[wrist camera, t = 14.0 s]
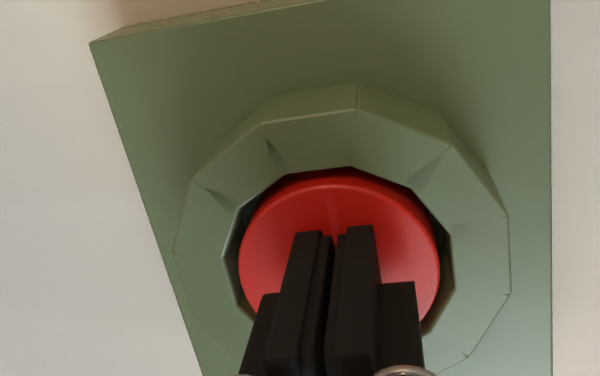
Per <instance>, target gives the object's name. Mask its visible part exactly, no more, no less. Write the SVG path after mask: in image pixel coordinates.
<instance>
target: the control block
mask: <svg viewBox="0 0 600 376" xmlns="http://www.w3.org/2000/svg"><path fill="white" fill-rule="evenodd" d="M89 47H90V50H91V53H92V55H93V58H94V61H95V64H96V67H97V70H98V73H99V76H100V79H101V82H102V84H103V87H104V90H105V93H106V96H107V99H108V102H109V105H110V108H111V111H112V113H113V116H114V119H115V122H116V125H117V128H118V131H119V134H120V137H121V140H122V142H123V145H124V148H125V151H126V154H127V157H128V160H129V163H130V166H131V169H132V171H133V174H134V177H135V180H136V183H137V186H138V189H139V192H140V195H141V198H142V200H143V203H144V206H145V209H146V212H147V215H148V218H149V221H150V224H151V227H152V230H153V232H154V235H155V238H156V241H157V244H158V247H159V250H160V253H161V256H162V259H163V261H164V264H165V267H166V270H167V273H168V276H169V279H170V282H171V285H172V288H173V290H174V293H175V296H176V299H177V302H178V305H179V308H180V311H181V314H182V317H183V319H184V322H185V325H186V328H187V331H188V334H189V337H190V340H191V343H192V346H193V348H194V351H195V354H196V357H197V360H198V363H199V366H200V369H201V372H202V375H203V376H231V375H238V373H239V370H240V366H241V363H242V360H243V357H244V353H245V350H246V347H247V344H248V340H249V337H250V334H251V331H252V327H253V324H254V321H255V317H256V314H257V313H256V312H255V311H254V309H253V308H252V306H251V305H250V303H249V301H248V299H247V298H246V296H245V293H244V290H243V288H242V285H241V281H240V276H239V268H238V258H239V250H240V246H241V242H242V239H243V237H244V234H245V232H246V229H247V227H248V224H249V222H250V220H251V217H252V215H253V212H254V210H255V207H256V205H257V203H258V200H259V198H260V196H261V195H262V193H263V192H264V191H265V190H266V189H267V188H269V187H270V186H271V185H273V184H274V183H275V182H277V181H278V180H279V179H281V178H282V177H283V176H285V175H286V174H292V173H300V172H308V171H316V170H323V169H331V168H339V167H346V166H351V167H354V168H357V169H359V170H362V171H365V172H368V173H370V174H373V175H376V176H378V177H381V178H384V179H387V180H389V181H392V182H395V183H398V184H400V185H403V186H406V187H408V188H411V190H412V191H413V192H414V193H415V194H416V195H417V197H418V198H419V199H420V200H421V201H422V203H423V204H424V205H425V206H426V207H427V209H428V210H429V213H430V216H431V220H432V226H433V231H434V236H435V241H436V246H437V252H438V257H439V262H440V281H439V287H438V291H437V294H436V297H435V299H434V302H433V304H432V306H431V308H430V309H429V311H428V312H427V314H426V315H425V317H424V318H423V319H422V320H421V321H420V327H421V336H422V344H423V353H424V362H425V369H426V370H429V371H431V372H433V373H434V374H435V375H436V376H553V352H552V187H551V22H550V0H264V1H258V2H253V3H248V4H243V5H238V6H232V7H227V8H222V9H217V10H211V11H206V12H201V13H196V14H191V15H185V16H180V17H175V18H170V19H164V20H159V21H154V22H149V23H144V24H138V25H133V26H128V27H123V28H121V29H119V30H116V31H114V32H112V33H109V34H107V35H105V36H103V37H100V38H98V39H96V40H93V41H91V42H90V43H89Z"/></svg>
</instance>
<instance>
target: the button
mask: <svg viewBox="0 0 600 376" xmlns="http://www.w3.org/2000/svg"><path fill="white" fill-rule="evenodd" d="M369 224H372V225H373V229H374V234H375V241H376V247H377V254H378V260H379V266H380V273H381V279H382V284H383V283H394V282H406V281H415V288H416V295H417V303H418V311H419V319H420V321H421V320H422V319H423V318H424V317H425V315H426V314H427V312H428V311H429V309H430V308H431V306H432V304H433V302H434V299H435V297H436V294H437V291H438V287H439V281H440V262H439V257H438V252H437V246H436V241H435V236H434V231H433V226H432V220H431V216H430V213H429V210H428V209H427V207H426V206H425V205H424V204H423V203H422V201H421V200H420V199H419V198H418V197H417V195H416V194H415V193H414V192H413V191H412V190H411V188H408V187H406V186H403V185H400V184H398V183H395V182H392V181H389V180H387V179H384V178H381V177H378V176H376V175H373V174H370V173H368V172H365V171H362V170H359V169H357V168H354V167H351V166H346V167H339V168H331V169H323V170H316V171H308V172H300V173H292V174H286V175H285V176H283V177H282V178H281V179H279V180H278V181H277V182H275V183H274V184H273V185H271V186H270V187H269V188H267V189H266V190H265V191H264V192H263V193H262V195H261V196H260V198H259V200H258V203H257V205H256V207H255V210H254V212H253V215H252V217H251V220H250V222H249V224H248V227H247V229H246V232H245V234H244V237H243V239H242V242H241V246H240V250H239V258H238V268H239V276H240V281H241V285H242V288H243V290H244V293H245V296H246V298H247V299H248V301H249V303H250V305H251V306H252V308H253V309H254V311H255V312H256V313H257V311H258V308H259V304H260V301H261V298H262V296H263V295H264V294H267V293H278V292H280V289H281V285H282V281H283V278H284V274H285V270H286V266H287V262H288V259H289V255H290V251H291V247H292V243H293V239H294V236H295V233H296V232H304V231H313V230H321V231H322V233H323V236H328V235H331V236H332V240H333V244H334V249H335V254H336V245H337V237H338V234H346V230H347V227H351V226H360V225H369Z"/></svg>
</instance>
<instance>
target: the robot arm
mask: <svg viewBox="0 0 600 376" xmlns="http://www.w3.org/2000/svg"><path fill="white" fill-rule="evenodd" d="M231 376H436V375H435V374H434V373H433V372H431V371H429V370H426V369H425V362H424V353H423V344H422V336H421V327H420V319H419V311H418V303H417V295H416V288H415V281H406V282H394V283H383V284H382V279H381V273H380V266H379V260H378V254H377V247H376V241H375V234H374V229H373V225H372V224H369V225H360V226H351V227H347V230H346V234H338V237H337V245H336V254H335V249H334V244H333V240H332V236H331V235H328V236H323V233H322V231H321V230H313V231H304V232H296V233H295V236H294V239H293V243H292V247H291V251H290V255H289V259H288V262H287V266H286V270H285V274H284V278H283V281H282V285H281V289H280V292H278V293H267V294H264V295H263V296H262V298H261V301H260V304H259V308H258V311H257V314H256V317H255V321H254V324H253V327H252V331H251V334H250V337H249V340H248V344H247V347H246V350H245V353H244V357H243V360H242V363H241V366H240V370H239V373H238V375H231Z"/></svg>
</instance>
